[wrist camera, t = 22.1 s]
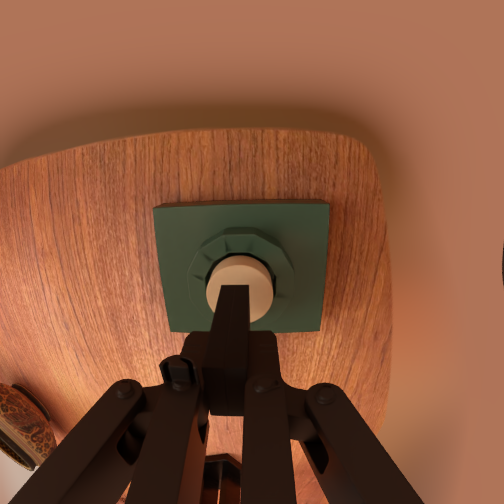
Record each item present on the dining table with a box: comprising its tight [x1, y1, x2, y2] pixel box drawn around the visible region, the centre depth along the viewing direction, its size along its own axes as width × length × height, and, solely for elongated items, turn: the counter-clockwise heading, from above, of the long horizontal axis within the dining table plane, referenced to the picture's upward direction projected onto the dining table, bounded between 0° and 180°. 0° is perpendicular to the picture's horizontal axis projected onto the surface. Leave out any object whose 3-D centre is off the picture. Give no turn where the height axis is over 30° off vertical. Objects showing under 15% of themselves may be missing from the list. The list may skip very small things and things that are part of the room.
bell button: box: [206, 255, 273, 323], centre depth 17 cm, size 4×4×2 cm
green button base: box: [153, 199, 330, 333], centre depth 19 cm, size 12×10×4 cm
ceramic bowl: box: [0, 383, 57, 471], centre depth 24 cm, size 24×18×15 cm
